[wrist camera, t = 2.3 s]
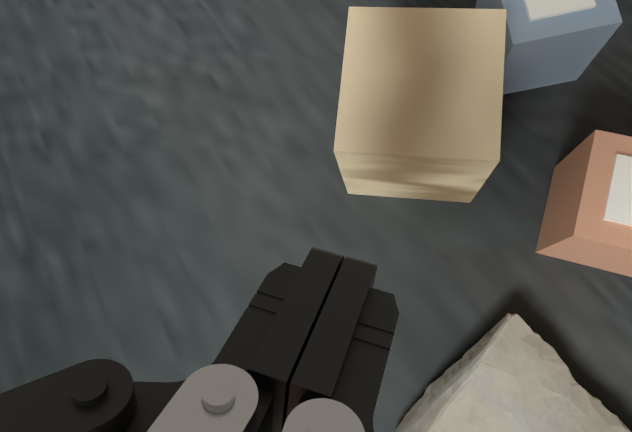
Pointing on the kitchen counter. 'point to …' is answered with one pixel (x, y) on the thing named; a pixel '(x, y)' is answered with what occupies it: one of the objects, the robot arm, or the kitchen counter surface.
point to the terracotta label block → (592, 205)
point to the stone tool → (509, 390)
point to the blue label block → (552, 39)
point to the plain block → (420, 101)
